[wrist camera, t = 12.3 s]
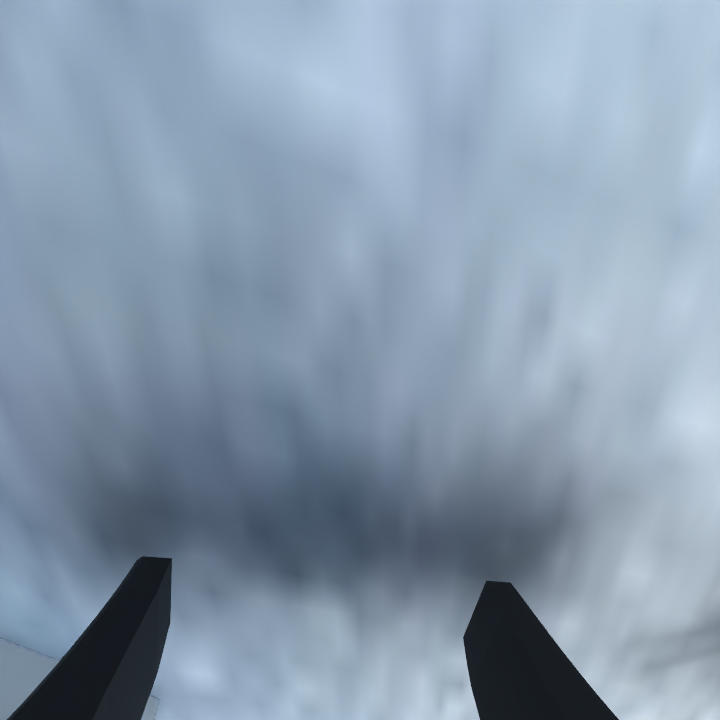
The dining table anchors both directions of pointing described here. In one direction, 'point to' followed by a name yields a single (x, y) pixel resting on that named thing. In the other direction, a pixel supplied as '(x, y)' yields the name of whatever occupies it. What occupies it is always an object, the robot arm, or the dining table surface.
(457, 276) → the dining table surface
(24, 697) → the tall pale grey block
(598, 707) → the robot arm
